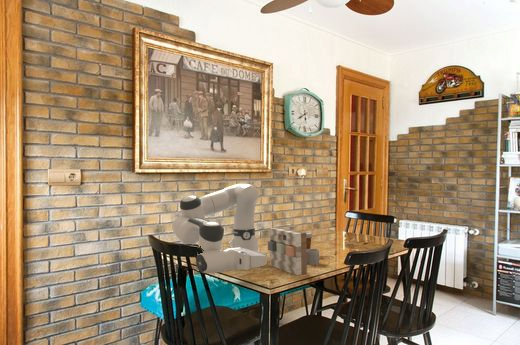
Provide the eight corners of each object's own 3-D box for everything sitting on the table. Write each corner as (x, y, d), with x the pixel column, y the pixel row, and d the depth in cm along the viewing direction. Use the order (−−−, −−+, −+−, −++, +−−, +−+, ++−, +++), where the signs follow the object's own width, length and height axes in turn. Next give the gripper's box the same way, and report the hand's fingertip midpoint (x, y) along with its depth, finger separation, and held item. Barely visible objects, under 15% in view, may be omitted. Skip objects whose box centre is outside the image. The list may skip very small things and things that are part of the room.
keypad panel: (269, 265, 191) (269, 228, 191) (279, 263, 194) (279, 227, 194) (296, 275, 172) (295, 233, 172) (306, 273, 175) (306, 232, 175)
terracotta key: (285, 255, 176) (285, 246, 176) (291, 254, 178) (291, 245, 178) (290, 256, 173) (290, 247, 173) (296, 255, 174) (296, 246, 174)
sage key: (276, 252, 183) (276, 243, 183) (281, 251, 184) (281, 243, 184) (281, 253, 179) (281, 245, 179) (286, 253, 181) (286, 244, 181)
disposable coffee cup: (305, 257, 208) (305, 234, 208) (291, 255, 214) (291, 233, 214) (316, 254, 215) (315, 232, 215) (301, 252, 221) (301, 231, 221)
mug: (315, 261, 198) (315, 248, 198) (321, 264, 192) (321, 250, 192) (297, 263, 195) (297, 249, 195) (303, 266, 189) (302, 252, 189)
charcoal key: (268, 249, 189) (267, 241, 189) (273, 249, 191) (273, 240, 191) (272, 251, 186) (272, 242, 186) (277, 250, 187) (277, 241, 187)
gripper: (225, 261, 170) (253, 257, 177) (248, 271, 153) (278, 266, 160) (225, 246, 170) (253, 243, 177) (247, 254, 153) (277, 250, 160)
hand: (265, 254), depth 168 cm, fingers closed
